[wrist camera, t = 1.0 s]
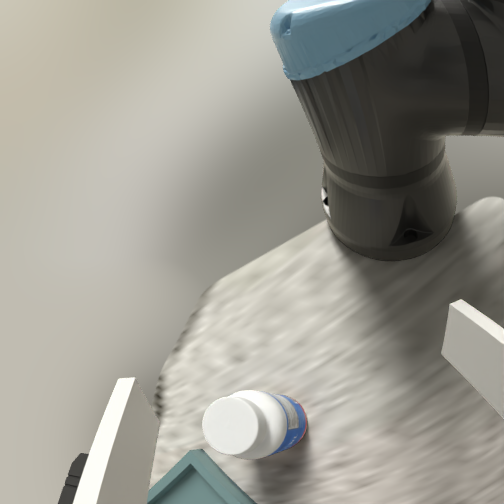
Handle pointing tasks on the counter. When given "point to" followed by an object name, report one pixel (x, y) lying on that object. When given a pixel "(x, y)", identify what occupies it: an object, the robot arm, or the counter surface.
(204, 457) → the tray
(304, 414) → the pill bottle
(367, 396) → the counter surface
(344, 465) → the counter surface
